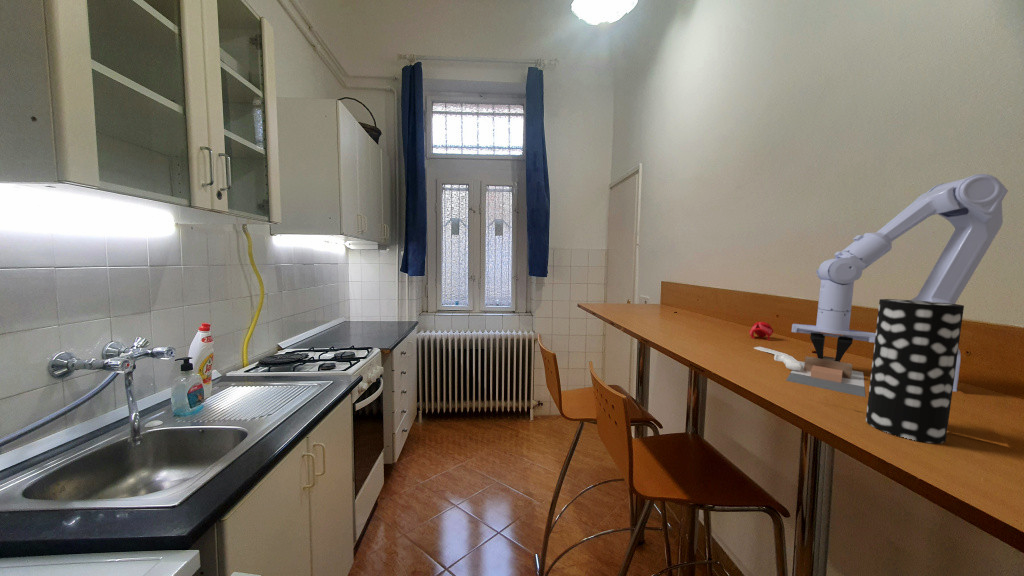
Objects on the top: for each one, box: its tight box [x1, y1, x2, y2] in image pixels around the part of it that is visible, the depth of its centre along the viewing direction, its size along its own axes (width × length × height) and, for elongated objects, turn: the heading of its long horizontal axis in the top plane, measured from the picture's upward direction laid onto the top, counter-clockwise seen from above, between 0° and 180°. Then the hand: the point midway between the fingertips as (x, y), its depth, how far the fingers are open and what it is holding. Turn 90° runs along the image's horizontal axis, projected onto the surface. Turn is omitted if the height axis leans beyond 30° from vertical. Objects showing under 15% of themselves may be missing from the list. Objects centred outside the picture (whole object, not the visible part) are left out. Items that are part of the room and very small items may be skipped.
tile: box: [811, 365, 843, 383], centre depth 78 cm, size 5×5×2 cm
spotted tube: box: [865, 298, 965, 444], centre depth 54 cm, size 8×8×20 cm
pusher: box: [804, 355, 853, 379], centre depth 82 cm, size 8×6×3 cm
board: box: [785, 360, 866, 398], centre depth 79 cm, size 12×22×1 cm, turn 136°
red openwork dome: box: [748, 321, 774, 341], centre depth 119 cm, size 8×6×6 cm
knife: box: [753, 346, 802, 371], centre depth 95 cm, size 30×2×8 cm
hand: (828, 366), depth 83 cm, fingers closed on pusher, 2 cm apart
